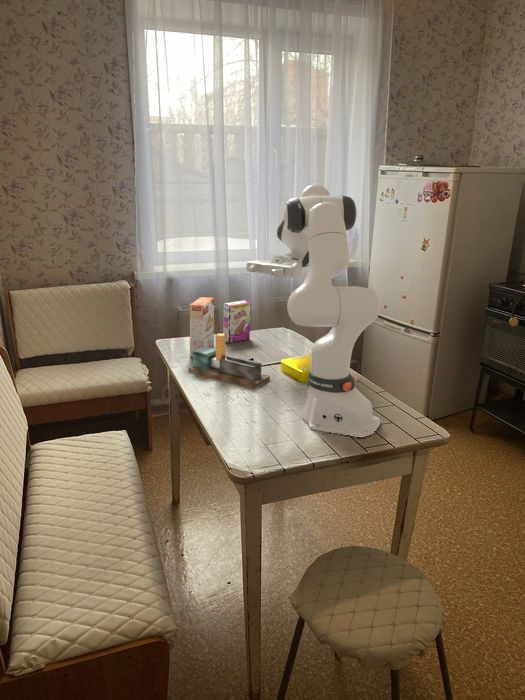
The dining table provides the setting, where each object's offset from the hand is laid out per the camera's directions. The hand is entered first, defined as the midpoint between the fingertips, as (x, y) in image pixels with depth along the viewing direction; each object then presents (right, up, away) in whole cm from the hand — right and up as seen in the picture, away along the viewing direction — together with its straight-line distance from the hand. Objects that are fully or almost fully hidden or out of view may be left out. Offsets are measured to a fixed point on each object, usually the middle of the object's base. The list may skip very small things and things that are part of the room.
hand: (261, 271), depth 184 cm
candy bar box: (-11, -24, +39) cm, 47 cm away
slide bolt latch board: (-12, -37, 0) cm, 39 cm away
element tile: (+16, -37, +5) cm, 40 cm away
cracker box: (-23, -29, +23) cm, 44 cm away
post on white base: (-16, -33, +1) cm, 37 cm away
